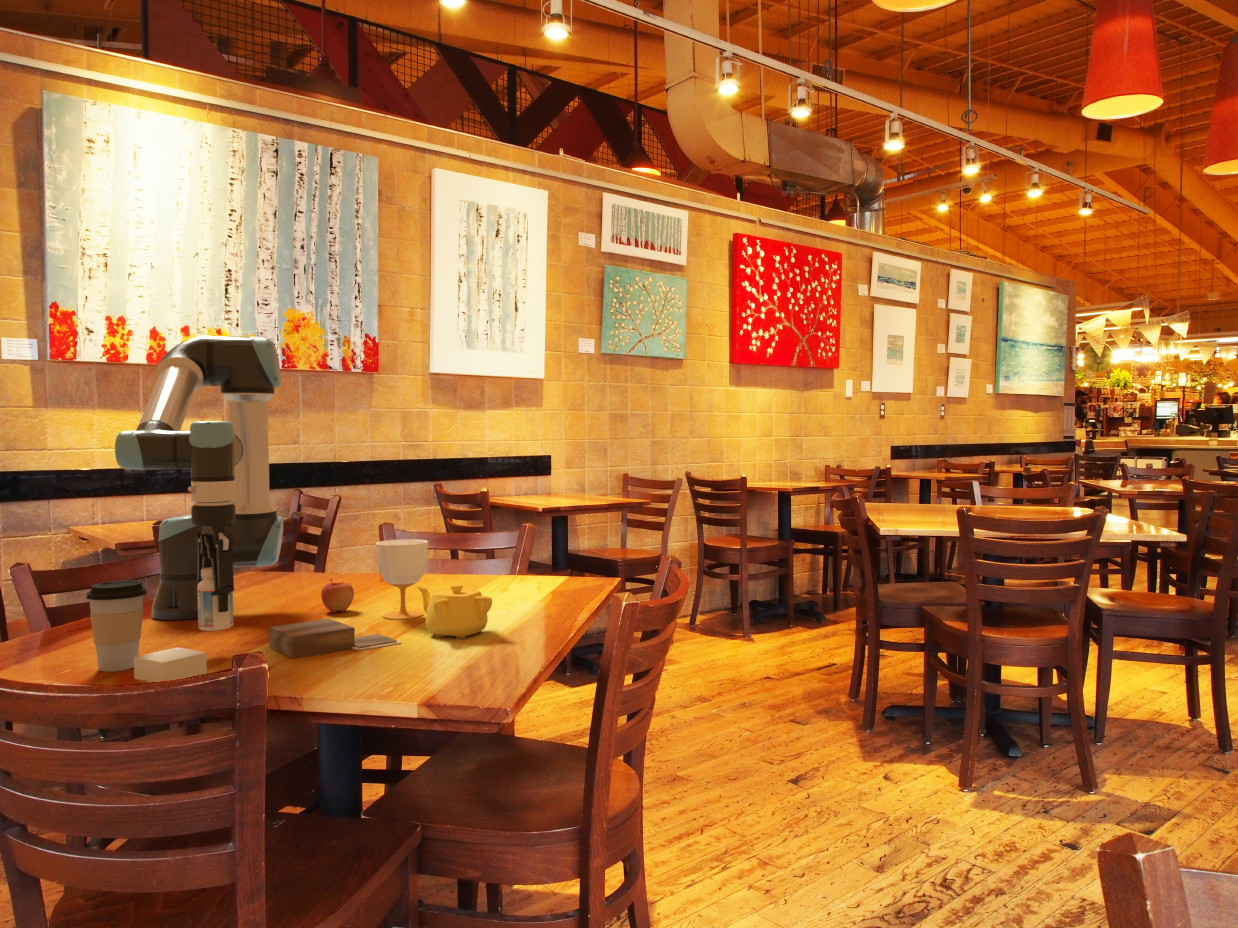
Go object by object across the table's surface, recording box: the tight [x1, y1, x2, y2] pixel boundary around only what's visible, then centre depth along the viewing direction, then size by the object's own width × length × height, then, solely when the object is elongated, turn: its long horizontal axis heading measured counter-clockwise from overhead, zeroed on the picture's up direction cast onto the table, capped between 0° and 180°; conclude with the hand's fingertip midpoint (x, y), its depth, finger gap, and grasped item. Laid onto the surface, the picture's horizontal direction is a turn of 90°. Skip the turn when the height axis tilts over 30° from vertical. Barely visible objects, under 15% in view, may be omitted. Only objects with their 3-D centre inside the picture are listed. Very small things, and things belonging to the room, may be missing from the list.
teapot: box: [415, 584, 493, 639], centre depth 182 cm, size 14×13×10 cm
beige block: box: [133, 646, 207, 683], centre depth 150 cm, size 8×8×4 cm
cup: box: [375, 538, 429, 621], centre depth 201 cm, size 12×12×17 cm
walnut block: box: [269, 618, 356, 659], centre depth 171 cm, size 12×12×4 cm
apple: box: [320, 578, 355, 614], centre depth 206 cm, size 7×7×8 cm
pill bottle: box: [197, 567, 235, 632], centre depth 165 cm, size 6×6×11 cm
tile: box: [352, 633, 402, 652], centre depth 174 cm, size 9×9×1 cm
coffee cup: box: [85, 580, 148, 673], centre depth 156 cm, size 9×9×15 cm
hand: (215, 625), depth 165 cm, fingers closed on pill bottle, 6 cm apart
